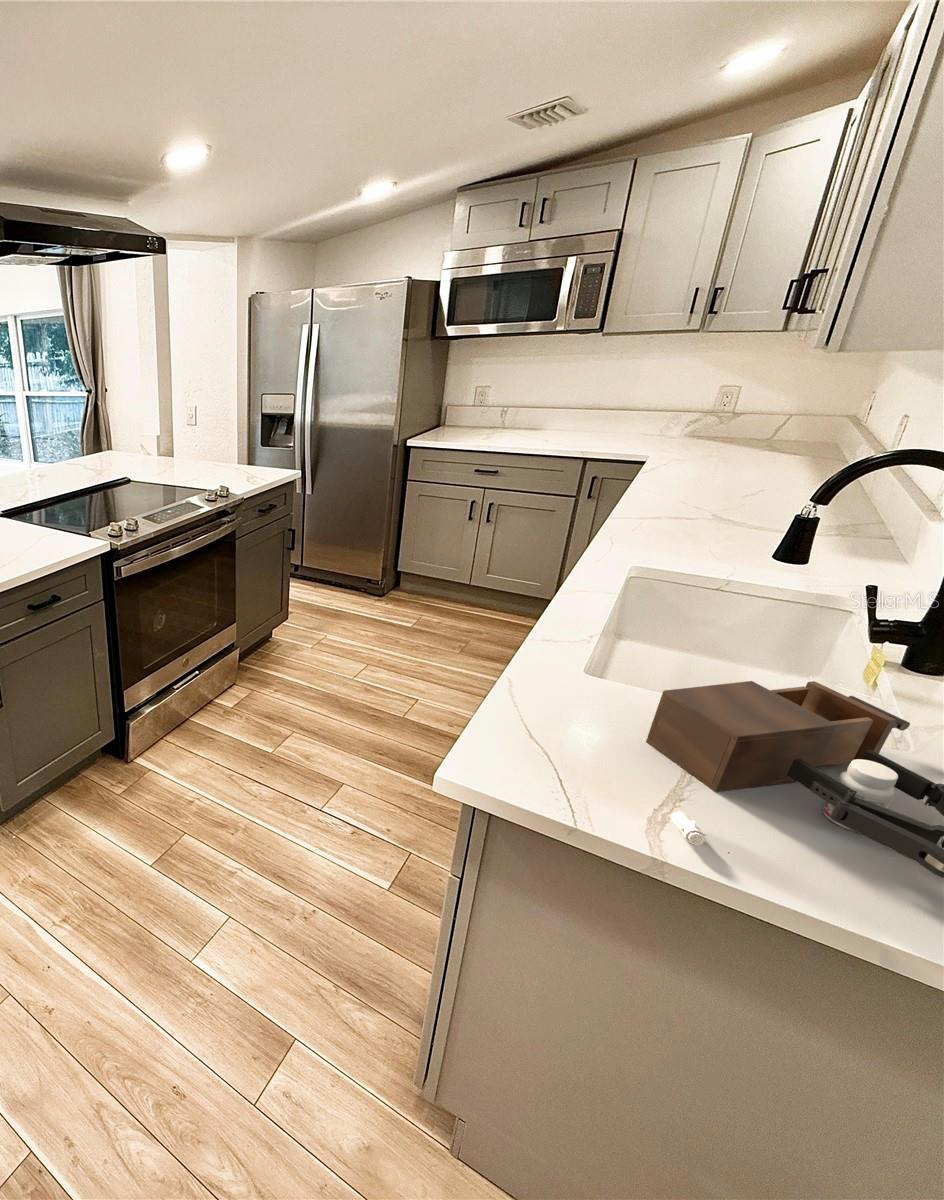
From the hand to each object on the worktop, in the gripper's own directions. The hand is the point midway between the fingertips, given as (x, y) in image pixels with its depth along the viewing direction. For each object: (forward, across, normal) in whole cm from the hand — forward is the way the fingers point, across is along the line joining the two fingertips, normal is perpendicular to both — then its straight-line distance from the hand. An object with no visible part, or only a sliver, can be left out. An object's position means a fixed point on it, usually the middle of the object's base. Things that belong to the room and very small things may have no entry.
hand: (828, 762), depth 82 cm
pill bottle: (-4, 0, -6) cm, 8 cm away
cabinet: (+9, -4, -6) cm, 11 cm away
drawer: (+9, +10, -5) cm, 14 cm away
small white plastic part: (-3, -22, -6) cm, 23 cm away
